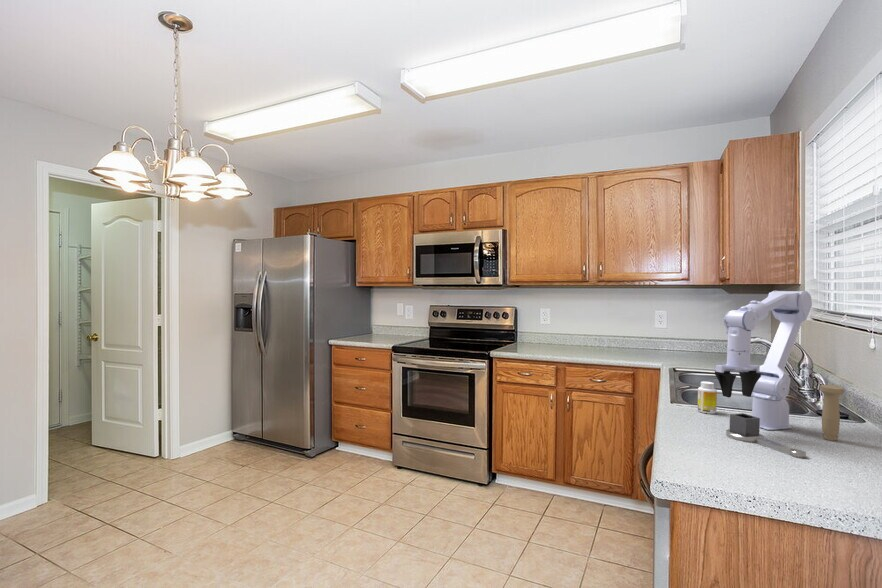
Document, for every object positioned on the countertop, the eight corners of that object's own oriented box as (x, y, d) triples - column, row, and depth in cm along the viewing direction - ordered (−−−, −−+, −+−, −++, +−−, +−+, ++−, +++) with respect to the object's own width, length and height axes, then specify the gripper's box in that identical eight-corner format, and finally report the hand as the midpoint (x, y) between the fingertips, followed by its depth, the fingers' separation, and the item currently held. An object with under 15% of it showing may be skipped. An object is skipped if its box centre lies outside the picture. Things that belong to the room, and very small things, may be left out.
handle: (843, 439, 127) (845, 387, 127) (839, 444, 123) (840, 389, 123) (821, 435, 131) (823, 384, 131) (816, 439, 127) (818, 386, 126)
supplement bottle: (720, 413, 152) (720, 383, 152) (708, 415, 150) (709, 384, 150) (705, 409, 157) (706, 380, 157) (693, 410, 155) (694, 381, 155)
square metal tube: (742, 430, 130) (743, 413, 130) (759, 435, 126) (759, 418, 126) (729, 431, 129) (729, 414, 129) (745, 437, 124) (746, 419, 124)
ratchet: (742, 431, 133) (742, 415, 133) (817, 456, 113) (818, 438, 113) (718, 433, 130) (718, 417, 130) (791, 459, 110) (791, 441, 110)
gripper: (731, 352, 127) (729, 400, 127) (770, 352, 131) (768, 398, 131) (710, 349, 133) (708, 394, 133) (747, 349, 137) (745, 393, 137)
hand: (736, 396), depth 132 cm, fingers open, 7 cm apart
